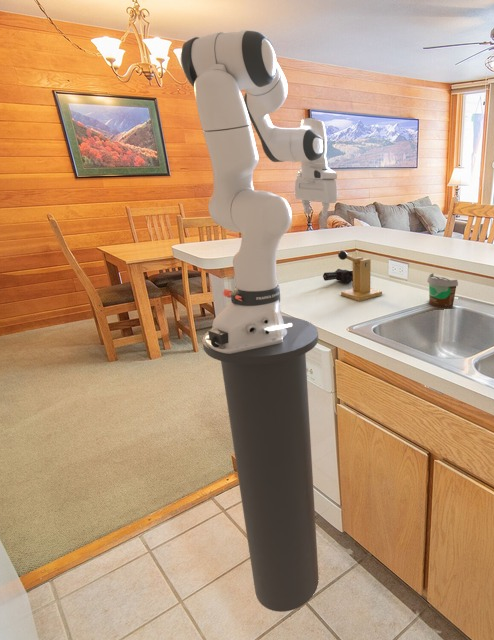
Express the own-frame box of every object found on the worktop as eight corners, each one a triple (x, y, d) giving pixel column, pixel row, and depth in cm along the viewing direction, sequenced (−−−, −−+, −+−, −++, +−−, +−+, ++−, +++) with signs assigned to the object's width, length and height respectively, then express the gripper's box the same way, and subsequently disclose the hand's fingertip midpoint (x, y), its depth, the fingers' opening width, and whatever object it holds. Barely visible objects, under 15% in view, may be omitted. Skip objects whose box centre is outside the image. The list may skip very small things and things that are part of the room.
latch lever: (341, 258, 151) (343, 249, 151) (335, 257, 153) (337, 248, 153) (365, 269, 161) (368, 261, 161) (359, 268, 163) (362, 259, 163)
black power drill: (379, 272, 182) (354, 266, 191) (345, 275, 168) (319, 268, 177) (378, 285, 184) (353, 278, 193) (344, 289, 170) (319, 281, 179)
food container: (418, 302, 159) (420, 275, 155) (430, 299, 163) (432, 272, 159) (444, 311, 151) (446, 282, 147) (455, 307, 154) (458, 279, 150)
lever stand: (358, 301, 159) (358, 263, 153) (341, 295, 165) (340, 258, 159) (382, 294, 167) (382, 258, 161) (364, 289, 173) (364, 254, 167)
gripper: (289, 171, 154) (291, 212, 160) (325, 173, 141) (326, 218, 147) (304, 171, 158) (305, 211, 164) (340, 173, 145) (340, 217, 151)
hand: (315, 214), depth 155 cm, fingers open, 8 cm apart
